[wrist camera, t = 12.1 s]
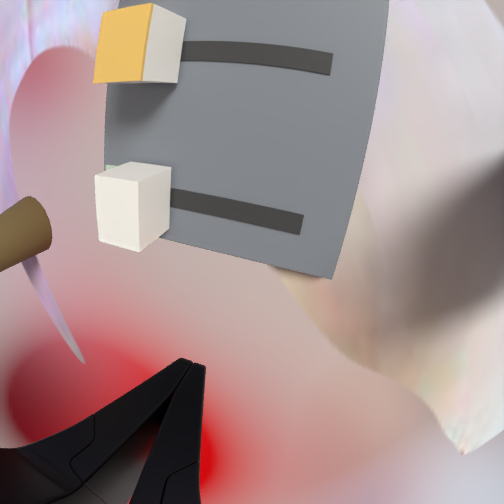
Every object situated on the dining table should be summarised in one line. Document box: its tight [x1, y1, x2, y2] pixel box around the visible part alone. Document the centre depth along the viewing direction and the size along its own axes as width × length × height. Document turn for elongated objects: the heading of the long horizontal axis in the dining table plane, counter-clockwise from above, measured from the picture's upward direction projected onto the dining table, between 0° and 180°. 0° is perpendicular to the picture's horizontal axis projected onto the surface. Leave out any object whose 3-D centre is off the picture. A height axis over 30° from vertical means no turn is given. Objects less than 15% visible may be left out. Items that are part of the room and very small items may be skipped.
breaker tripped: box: [93, 3, 186, 84], centre depth 12 cm, size 3×4×4 cm
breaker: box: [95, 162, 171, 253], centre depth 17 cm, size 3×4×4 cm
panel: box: [104, 0, 389, 280], centre depth 14 cm, size 16×24×2 cm, turn 173°
